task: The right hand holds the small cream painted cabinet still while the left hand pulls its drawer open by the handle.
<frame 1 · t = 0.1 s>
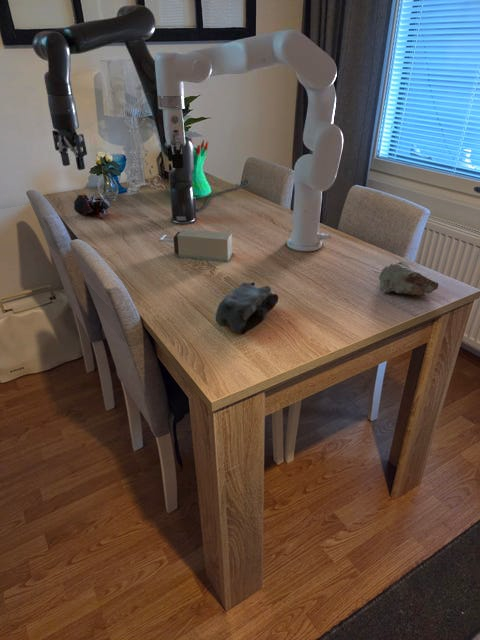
left hand: (73, 167, 141), 29 cm above the table, tool pointing down, fingers open, 8 cm apart
right hand: (175, 164, 136), 31 cm above the table, tool pointing down, fingers open, 9 cm apart
toy: (92, 216, 189), on the table
artifact: (401, 287, 134), on the table
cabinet: (205, 255, 155), on the table
rock: (248, 320, 118), on the table
toy 2: (190, 195, 217), on the table
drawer: (190, 243, 154), point 4 cm above the table, slide at 0.5 cm
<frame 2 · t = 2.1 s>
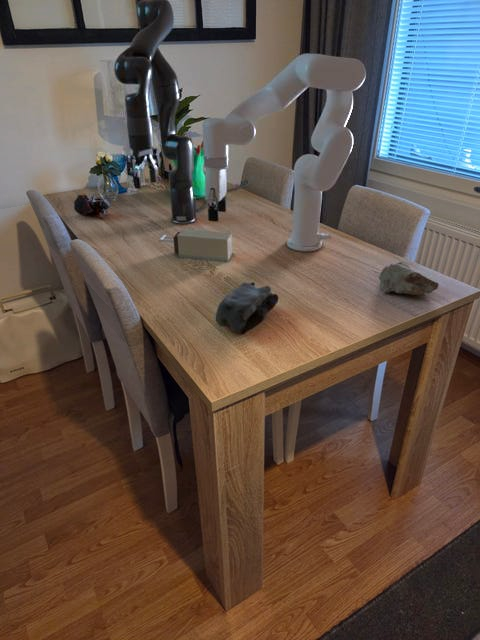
left hand: (146, 185, 145), 23 cm above the table, tool pointing down, fingers open, 8 cm apart
right hand: (217, 216, 146), 14 cm above the table, tool pointing down, fingers open, 9 cm apart
nothing on the table moved.
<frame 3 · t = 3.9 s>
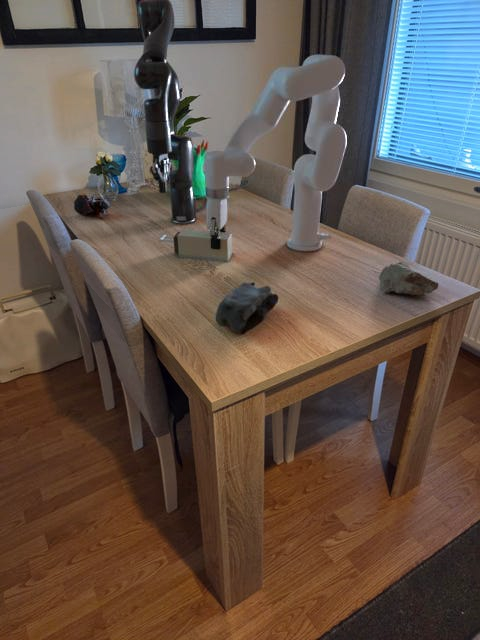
left hand: (163, 192, 146), 21 cm above the table, tool pointing down, fingers closed
right hand: (218, 244, 151), 4 cm above the table, tool pointing down, fingers closed on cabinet, 6 cm apart
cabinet: (205, 255, 155), on the table, touching right hand
everything else where it was.
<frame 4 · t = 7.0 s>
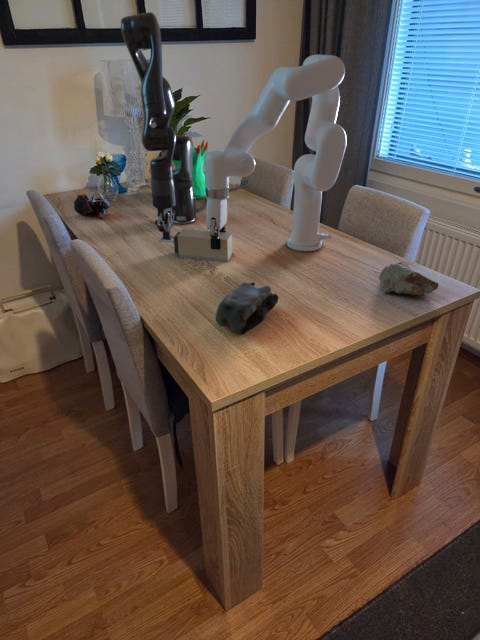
left hand: (167, 241, 155), 4 cm above the table, tool pointing down, fingers closed
right hand: (218, 244, 152), 4 cm above the table, tool pointing down, fingers closed on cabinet, 6 cm apart
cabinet: (205, 255, 155), on the table, touching right hand
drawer: (190, 243, 154), point 4 cm above the table, slide at 0.4 cm, touching left hand
everything else where it was.
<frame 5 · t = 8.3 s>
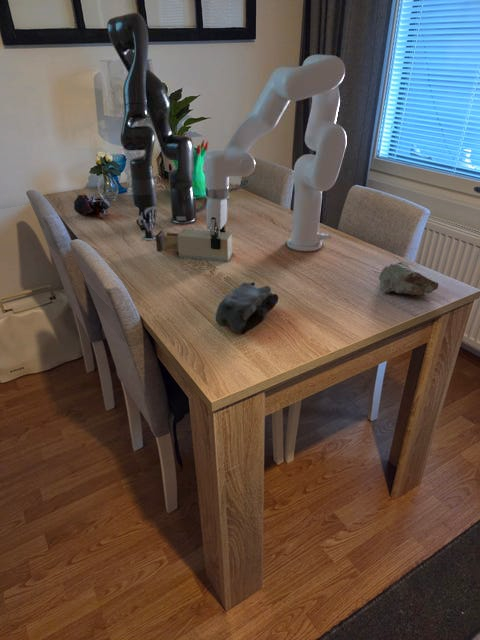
left hand: (149, 240, 156), 4 cm above the table, tool pointing down, fingers closed
right hand: (218, 244, 151), 4 cm above the table, tool pointing down, fingers closed on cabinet, 6 cm apart
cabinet: (205, 255, 155), on the table, touching right hand
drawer: (173, 242, 155), point 4 cm above the table, slide at 7.0 cm, touching left hand
everything else where it was.
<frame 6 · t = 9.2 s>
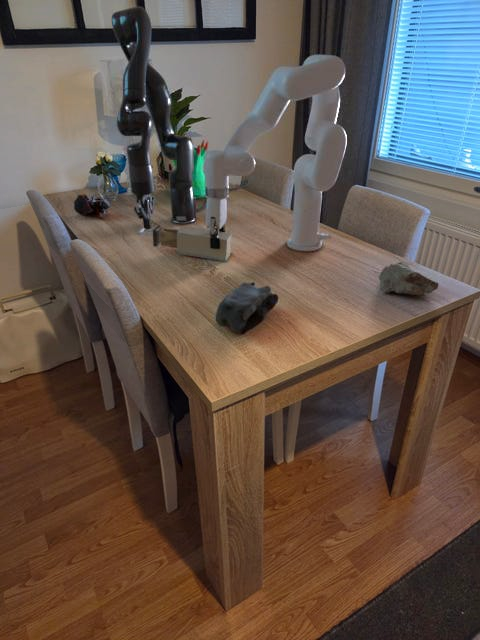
left hand: (147, 228, 155), 8 cm above the table, tool pointing down, fingers closed
right hand: (217, 244, 151), 5 cm above the table, tool pointing down, fingers closed on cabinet, 6 cm apart
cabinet: (203, 253, 154), point 1 cm above the table, touching right hand
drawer: (169, 238, 154), point 5 cm above the table, slide at 7.7 cm
everything else where it was.
when the right hand's fingers open (5 cm above the table, at t = 10.5 s): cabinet stays where it is, on the table.
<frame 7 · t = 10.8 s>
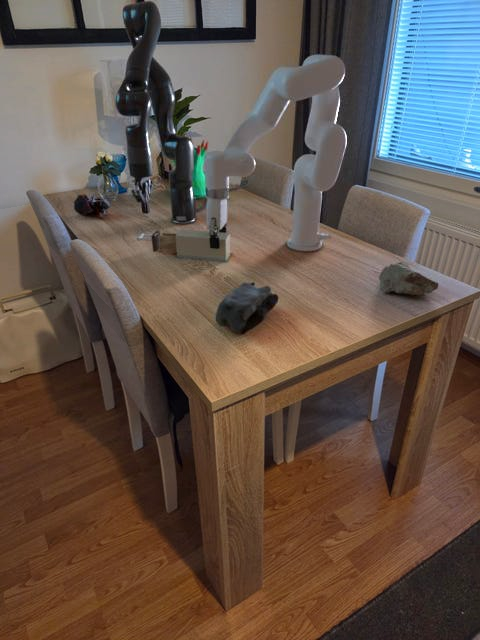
left hand: (145, 212, 151), 14 cm above the table, tool pointing down, fingers closed
right hand: (218, 242, 151), 5 cm above the table, tool pointing down, fingers open, 9 cm apart
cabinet: (203, 255, 155), on the table
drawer: (169, 242, 155), point 4 cm above the table, slide at 7.8 cm
everything else where it was.
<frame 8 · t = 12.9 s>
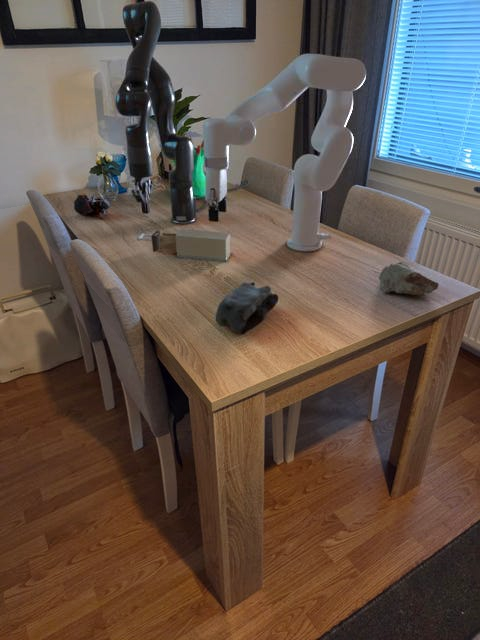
left hand: (145, 212, 151), 14 cm above the table, tool pointing down, fingers closed
right hand: (217, 216, 146), 14 cm above the table, tool pointing down, fingers open, 9 cm apart
nothing on the table moved.
at the end: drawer slide at 7.8 cm; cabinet tilted 0°; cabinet never tilted more than 5° during the clip; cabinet moved 0.7 cm from its start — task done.
